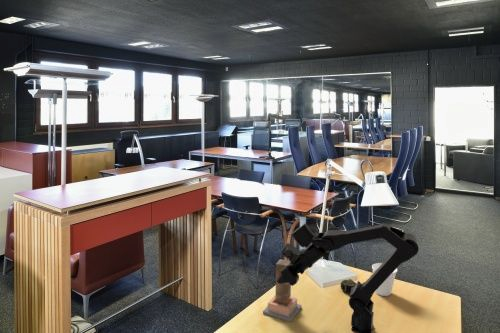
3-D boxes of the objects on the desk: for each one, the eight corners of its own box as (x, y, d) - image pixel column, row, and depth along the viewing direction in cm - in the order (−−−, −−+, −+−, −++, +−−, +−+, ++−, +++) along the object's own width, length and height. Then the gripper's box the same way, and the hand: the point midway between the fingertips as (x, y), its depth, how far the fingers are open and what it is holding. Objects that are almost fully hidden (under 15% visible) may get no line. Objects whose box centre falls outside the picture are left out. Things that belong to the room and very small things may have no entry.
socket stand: (301, 307, 144) (301, 297, 143) (290, 321, 134) (290, 311, 133) (275, 300, 149) (275, 290, 148) (262, 313, 139) (263, 303, 138)
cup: (380, 300, 149) (382, 274, 148) (365, 289, 159) (366, 264, 157) (400, 296, 152) (402, 271, 151) (384, 285, 162) (386, 261, 160)
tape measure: (360, 293, 155) (361, 285, 154) (346, 295, 153) (346, 287, 152) (351, 286, 162) (351, 277, 161) (337, 288, 159) (337, 279, 159)
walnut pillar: (290, 296, 142) (291, 261, 139) (287, 301, 138) (287, 265, 135) (279, 293, 143) (279, 259, 141) (275, 299, 139) (276, 263, 137)
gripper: (301, 230, 144) (273, 253, 150) (287, 247, 127) (256, 272, 133) (321, 253, 142) (292, 275, 148) (309, 273, 125) (277, 297, 131)
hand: (279, 279), depth 140 cm, fingers closed on walnut pillar, 4 cm apart
